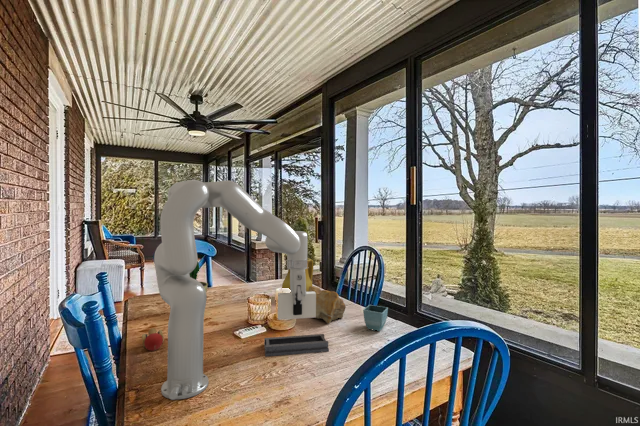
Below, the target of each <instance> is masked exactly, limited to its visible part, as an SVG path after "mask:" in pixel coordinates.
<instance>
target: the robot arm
mask: <svg viewBox="0 0 640 426" xmlns="http://www.w3.org/2000/svg"><path fill="white" fill-rule="evenodd" d="M207 208H208V209H209V208H223V209H224V210H225V211H226V212H228V213H229V214H230V215H231V216H232V217H233V218H235V220H237V222H239V223H240V224H242V225H243V227H244V228H247V229H248V230H250V231H253V232H254V233H258V234H261V235H263V236H265V241H264V242H265V243H264V244H265V246H266V247H267V249H268V250H270V251H271V252H274V253H278V254H279V253H280V254H285V255H286V257H287V259H286V260H287V261H286V264H287V266H286V268H287V269H290V290H291V293H292V295H293V296H294V304H293V315H302V294H303V296H306V275H305V269H307V258H308V242H309V241H308V238H309V237H308V233H307V232H306V231H301V230H294V229H293V228H292V227H291V226H290V225H289V224H287V223H286V222H285V221H284V220H282V219H281V218H279V217H277V215H275V214H273V213H272V212H269V211H268V210H267V209H265V208H263V207H262V205H260V204H259V203H258V202H257V200H255V199H254V198H253V197H252V196H251V195H250V194H249V193H248V192H247V191H245V189H244V188H242V187H241V186H240V185H239V184H238V183H237V182H235V181H233V180H227V179H226V180H221V181H220V180H219V181H218V180H217V181H210V182H209V181H207V182H205V181H204V182H203V181H201V180H198V179H190V180H188V179H187V180H183V181H178V182H175V183H173V184H172V185H171V186H170V187H169V189H168V191H167V201H166V202H165V204H164V205H163V207H162V210H161V214H160V221H159V222H160V225H159V226H160V236H161V243H160V244H159V245H158V246H157V247H156V249H155V251H154V256H153V257H154V258H153V259H154V269H155V275H156V282H157V283H156V284H157V289H158V292H159V296H160V297H161V299H162V301H164V302H165V304H167V305H168V306H170V310H169V316H168V317H169V318H168V323H167V375H166V376H167V380H166V381H164V382H163V383H162V385H161V387H160V391H161V394H162V396H163V397H164V398H167V399H170V400H172V401H174V400H183V399H184V400H185V399H188V398H192V397H195V396H197V395H199V394H201V393H202V392H203V391H205V390H206V388H208V386H209V377H208V376H207V374H204V328H205V327H204V325H205V324H204V323H205V322H204V321H205V311H206V305H207V297H208V296H207V291H206V290H205V288H204V286H203V285H202V284H201V283H200V282H201V281H198V279H196V280H195V279H193V278H191V277H190V274H189V273H191V272H192V271H193V270H194V269H195V267H196V265H197V262H199V260H198V252H197V244H196V238H195V229H194V224H195V223H194V221H195V218H196V215H197V213H198V212H199V210H200V209H207ZM295 294H297V296H296V295H295Z"/></svg>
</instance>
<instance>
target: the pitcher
mask: <svg viewBox="0 0 640 426" xmlns="http://www.w3.org/2000/svg"><path fill="white" fill-rule="evenodd" d="M305 275H306V292H308V291H309V287H310V286H313V275H314V260H313V259H311V258H309V257H307V269H305ZM282 288H289V289H290V269H288V270H287V274H286V275H285V278H284V279H283V281H282V284H281V289H282Z"/></svg>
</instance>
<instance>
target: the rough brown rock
mask: <svg viewBox="0 0 640 426" xmlns="http://www.w3.org/2000/svg"><path fill="white" fill-rule="evenodd" d="M312 291H315V293H316V317H314V318H315V319H322V320H323V321H324V323H326V324H330V323H331V322H333V321H335V320H337V319H338V318H342V319H343V317H344V313H345V311H346V307H347V306H346V303H345V302H344V299H342V298H340V295H339V294H338V293H337V291H330V290H326V289H322V290H321V288H320V287H318V286H313V285H312V286H310V287H309V291H308V292H312ZM332 320H333V321H332Z"/></svg>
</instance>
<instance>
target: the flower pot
mask: <svg viewBox="0 0 640 426" xmlns="http://www.w3.org/2000/svg"><path fill="white" fill-rule="evenodd" d="M362 311H363V319H364V321H363V322H364V323H365V326H366V328H367V330H369V329H373V330H372V331H375V330H377V331H376V332H380V331H381V330H382V329H383V328H384V326H385V324H386V322H387V320H388V311H389V307H386V306H380V305H373V304H368V305H367V306H366V307H365V308H363V310H362Z"/></svg>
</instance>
